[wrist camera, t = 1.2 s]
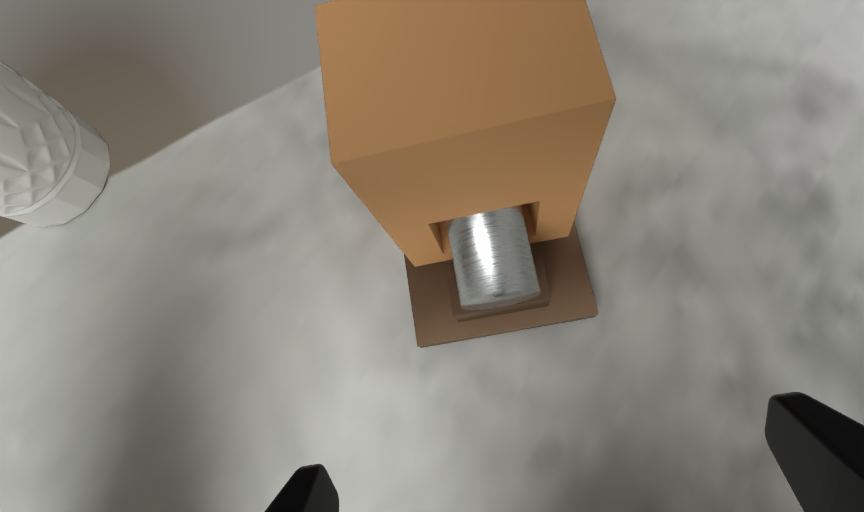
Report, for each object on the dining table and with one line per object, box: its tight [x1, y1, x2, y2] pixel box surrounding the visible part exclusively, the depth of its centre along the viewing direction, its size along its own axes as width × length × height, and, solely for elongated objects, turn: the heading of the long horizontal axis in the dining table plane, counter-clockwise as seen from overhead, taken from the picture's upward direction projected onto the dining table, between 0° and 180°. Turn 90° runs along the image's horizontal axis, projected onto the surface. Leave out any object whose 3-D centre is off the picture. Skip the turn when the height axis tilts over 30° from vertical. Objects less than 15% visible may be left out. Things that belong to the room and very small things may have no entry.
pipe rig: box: [404, 205, 598, 348], centre depth 22 cm, size 18×8×6 cm, turn 9°
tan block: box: [315, 0, 616, 267], centre depth 17 cm, size 5×7×10 cm
